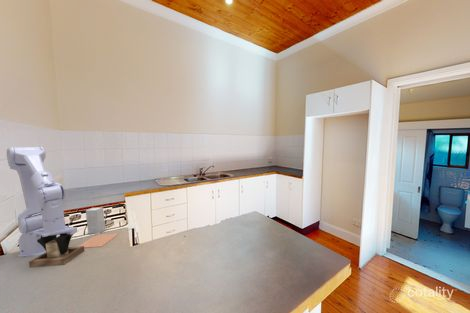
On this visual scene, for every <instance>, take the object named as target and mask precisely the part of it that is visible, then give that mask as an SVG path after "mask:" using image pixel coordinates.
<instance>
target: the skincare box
mask: <svg viewBox="0 0 470 313" xmlns="http://www.w3.org/2000/svg"><path fill="white" fill-rule="evenodd" d="M85 217H86V225H87V233H88V235H99V234H98V233H100V234H102V233H103V232H105V231H106V223H105V222H106V221H105V213H104V207H91V208H88V209H86V210H85Z"/></svg>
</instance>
